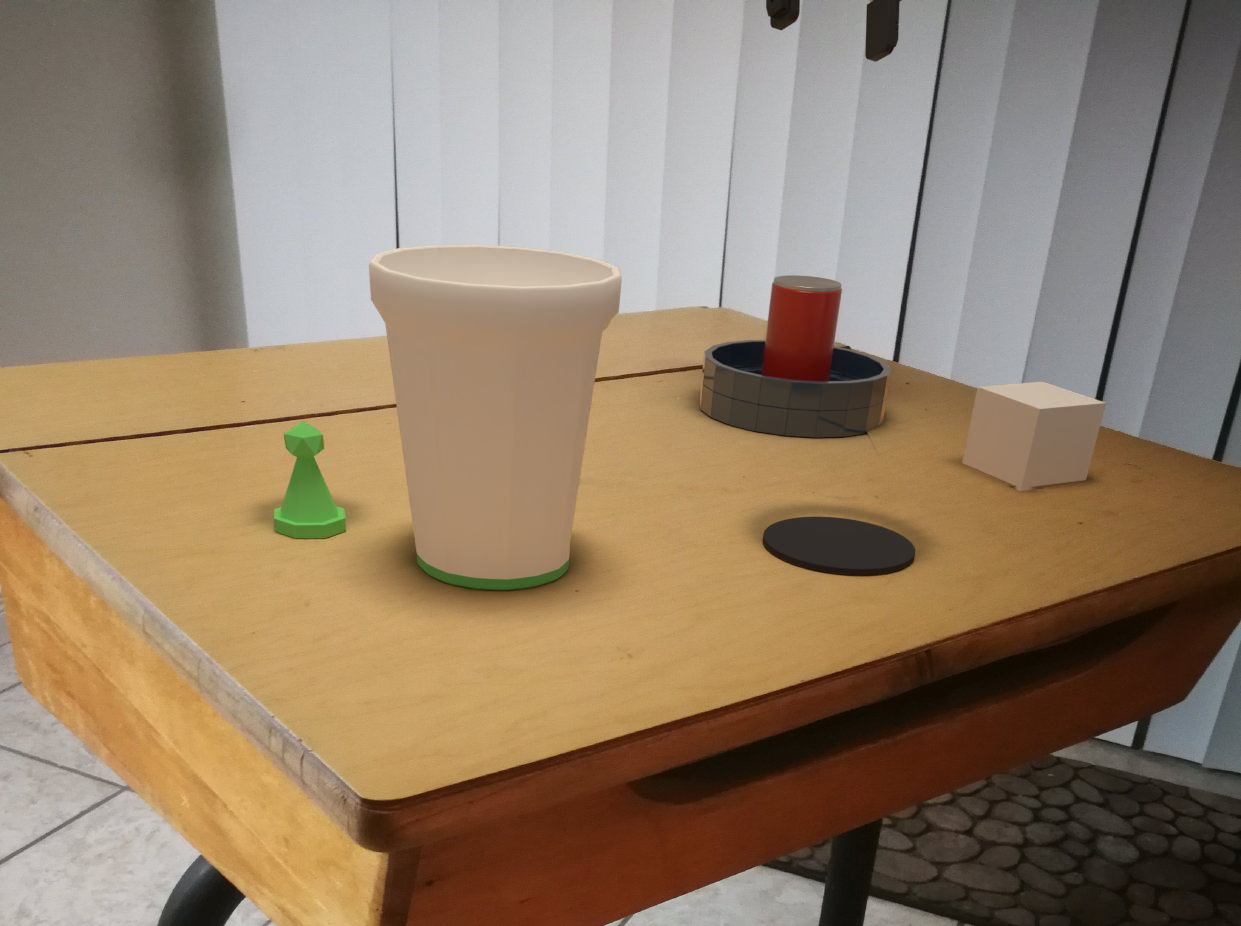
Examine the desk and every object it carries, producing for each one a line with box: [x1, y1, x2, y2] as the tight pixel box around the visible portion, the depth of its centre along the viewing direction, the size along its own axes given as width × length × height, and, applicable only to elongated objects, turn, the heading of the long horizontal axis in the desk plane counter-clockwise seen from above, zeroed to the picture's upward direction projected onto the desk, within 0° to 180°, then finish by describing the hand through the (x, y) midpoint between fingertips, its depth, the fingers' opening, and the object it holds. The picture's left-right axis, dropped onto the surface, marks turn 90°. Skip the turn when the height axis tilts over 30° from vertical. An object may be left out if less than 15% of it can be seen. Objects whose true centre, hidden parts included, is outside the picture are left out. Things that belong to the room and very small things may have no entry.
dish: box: [698, 339, 893, 439], centre depth 101 cm, size 14×14×4 cm
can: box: [761, 274, 843, 381], centre depth 99 cm, size 5×5×10 cm
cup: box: [368, 244, 623, 591], centre depth 68 cm, size 12×12×15 cm
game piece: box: [273, 420, 347, 539], centre depth 74 cm, size 4×4×6 cm
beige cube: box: [961, 381, 1107, 492], centre depth 90 cm, size 6×6×6 cm
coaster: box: [762, 516, 916, 576], centre depth 77 cm, size 9×9×1 cm
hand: (833, 41), depth 88 cm, fingers open, 8 cm apart
